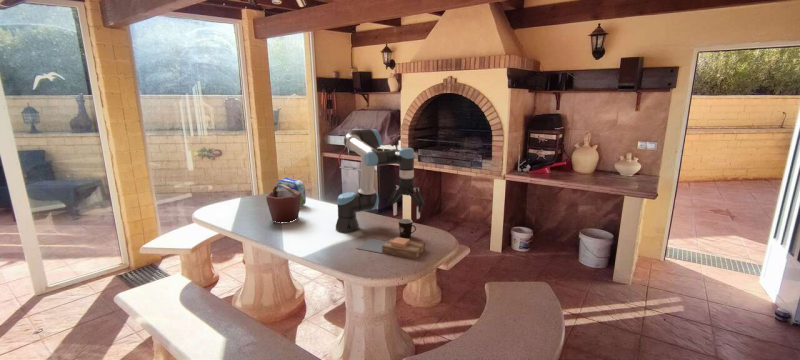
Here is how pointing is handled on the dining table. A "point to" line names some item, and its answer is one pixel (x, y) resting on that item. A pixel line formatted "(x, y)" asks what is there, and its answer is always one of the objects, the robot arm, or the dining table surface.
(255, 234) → the dining table surface
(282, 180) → the lunch box
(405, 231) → the coffee mug
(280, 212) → the bucket
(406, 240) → the tile
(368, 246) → the mat
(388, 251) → the block
